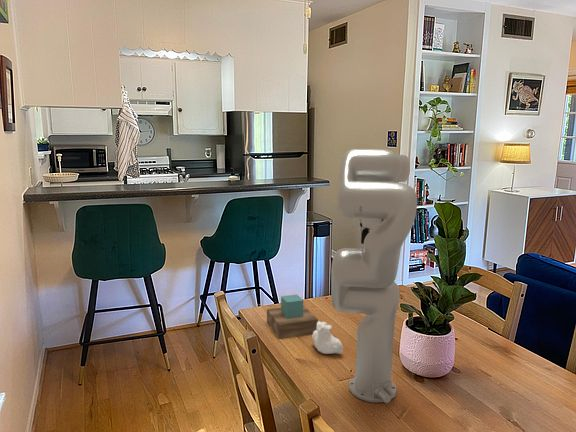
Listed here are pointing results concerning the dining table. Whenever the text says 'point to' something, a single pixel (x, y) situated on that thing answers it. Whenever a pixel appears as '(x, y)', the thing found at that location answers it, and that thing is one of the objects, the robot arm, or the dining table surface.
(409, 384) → the dining table surface
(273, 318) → the walnut block
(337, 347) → the bust
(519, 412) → the dining table surface
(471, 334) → the dining table surface
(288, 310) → the teal cube
